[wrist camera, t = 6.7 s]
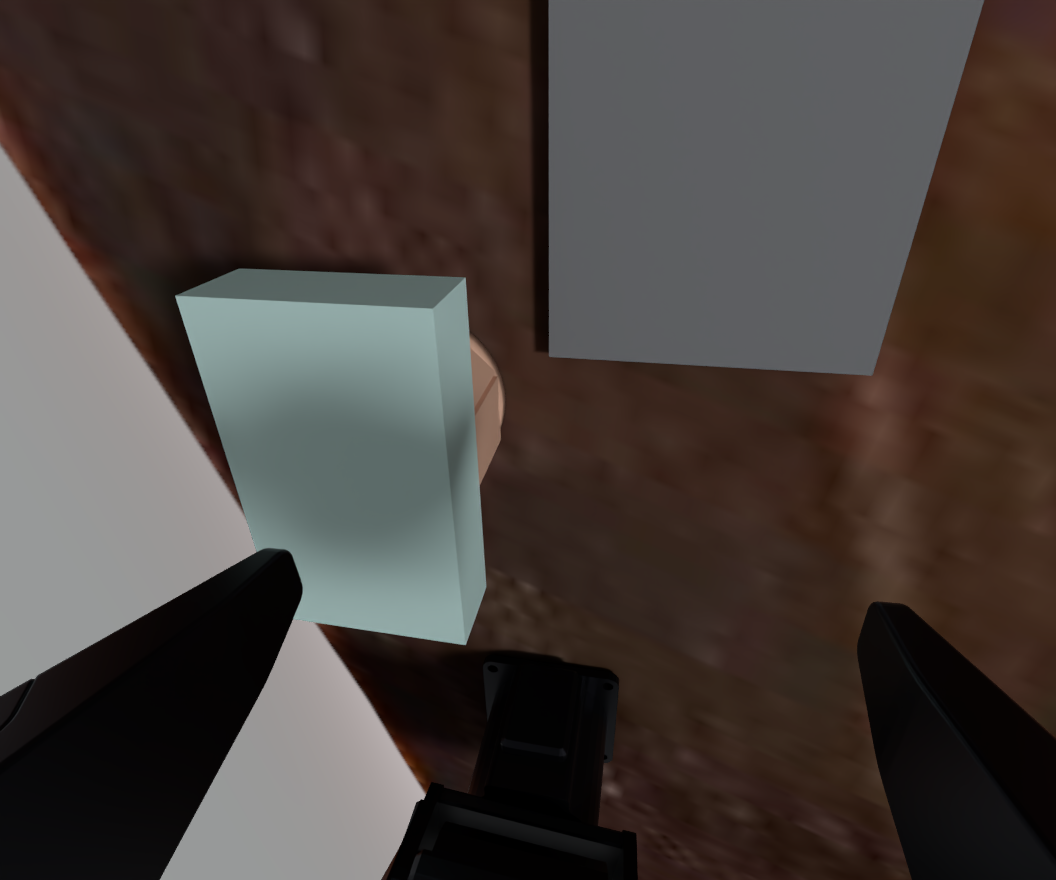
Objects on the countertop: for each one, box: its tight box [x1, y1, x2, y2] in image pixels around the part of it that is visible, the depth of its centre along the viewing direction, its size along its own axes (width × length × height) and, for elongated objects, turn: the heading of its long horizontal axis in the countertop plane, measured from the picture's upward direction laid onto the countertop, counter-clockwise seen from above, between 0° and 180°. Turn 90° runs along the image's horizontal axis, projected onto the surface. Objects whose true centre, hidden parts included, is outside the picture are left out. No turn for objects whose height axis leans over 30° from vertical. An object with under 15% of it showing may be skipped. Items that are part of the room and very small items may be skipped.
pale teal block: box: [175, 269, 486, 645], centre depth 18 cm, size 11×7×3 cm, turn 1°
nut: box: [469, 331, 506, 486], centre depth 21 cm, size 7×7×4 cm
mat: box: [549, 0, 984, 375], centre depth 16 cm, size 14×10×1 cm
